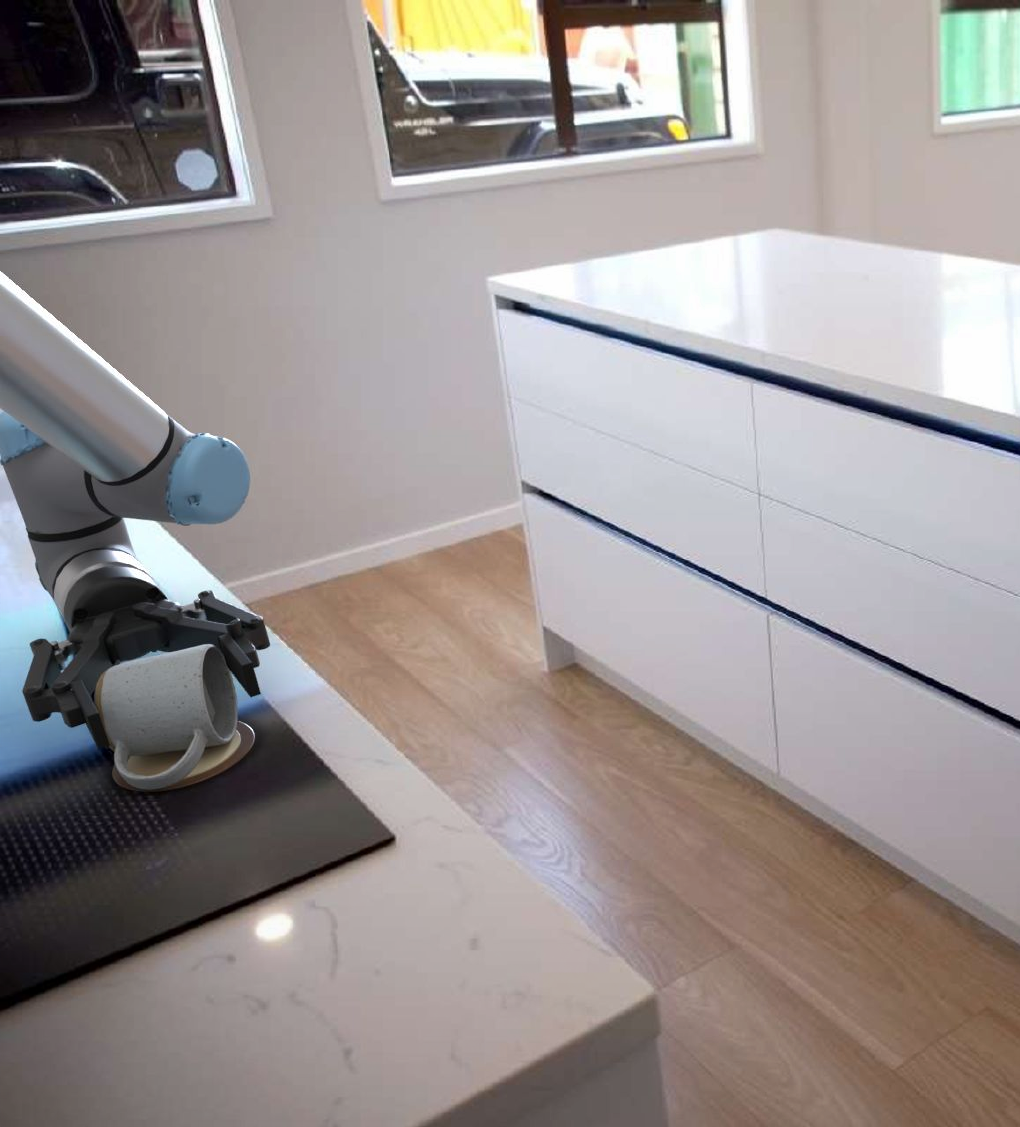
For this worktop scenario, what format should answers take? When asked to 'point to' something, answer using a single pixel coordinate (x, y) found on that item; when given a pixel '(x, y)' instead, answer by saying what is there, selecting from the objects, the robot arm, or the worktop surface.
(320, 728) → the worktop surface
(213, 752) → the cream coaster
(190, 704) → the ceramic mug
